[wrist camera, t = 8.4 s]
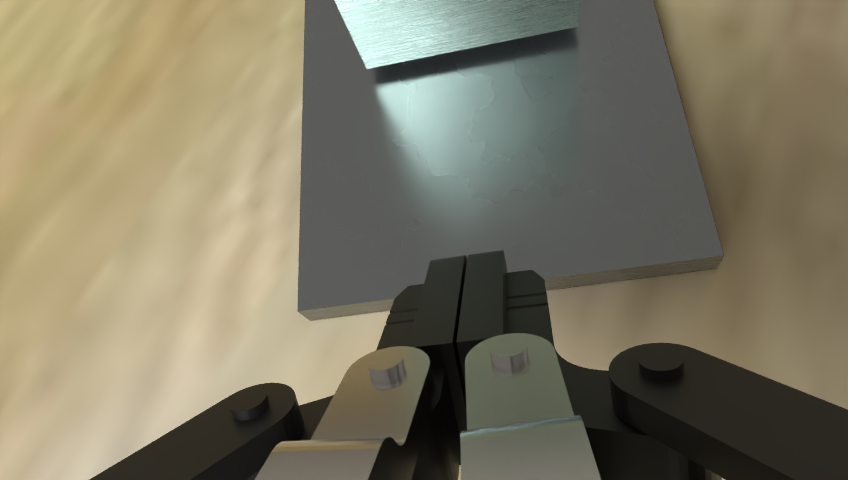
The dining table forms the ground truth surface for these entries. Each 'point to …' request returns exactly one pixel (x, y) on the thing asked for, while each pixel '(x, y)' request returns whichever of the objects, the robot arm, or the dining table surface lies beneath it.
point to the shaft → (447, 25)
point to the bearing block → (497, 161)
